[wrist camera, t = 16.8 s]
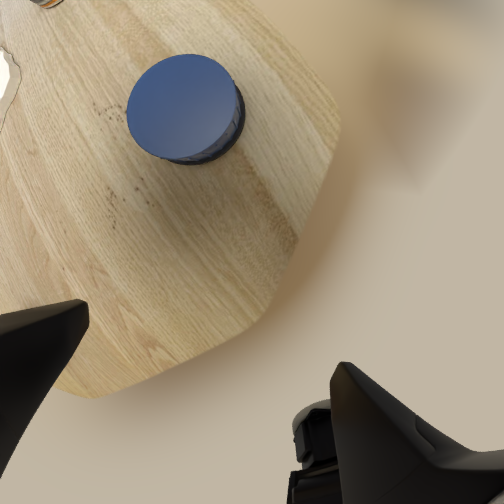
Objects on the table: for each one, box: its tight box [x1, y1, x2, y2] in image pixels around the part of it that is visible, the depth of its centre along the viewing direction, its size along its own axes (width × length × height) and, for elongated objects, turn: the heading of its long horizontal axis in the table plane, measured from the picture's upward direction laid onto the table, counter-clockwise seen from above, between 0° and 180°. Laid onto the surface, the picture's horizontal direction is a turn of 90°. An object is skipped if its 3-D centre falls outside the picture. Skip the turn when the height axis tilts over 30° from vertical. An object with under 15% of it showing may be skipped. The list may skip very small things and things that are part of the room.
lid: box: [127, 54, 241, 162], centre depth 15 cm, size 7×7×3 cm
